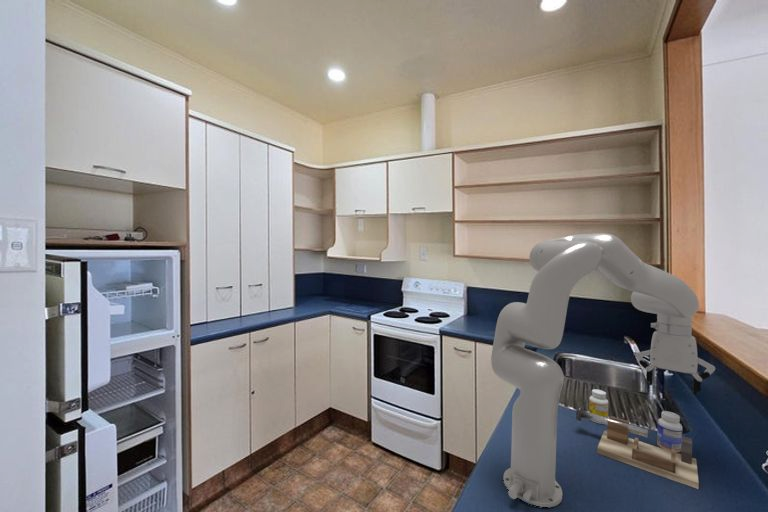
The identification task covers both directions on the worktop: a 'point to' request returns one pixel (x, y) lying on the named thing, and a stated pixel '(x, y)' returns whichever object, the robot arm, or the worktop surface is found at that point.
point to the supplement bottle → (598, 403)
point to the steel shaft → (582, 414)
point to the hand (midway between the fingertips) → (672, 388)
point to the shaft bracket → (649, 454)
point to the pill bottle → (669, 431)
